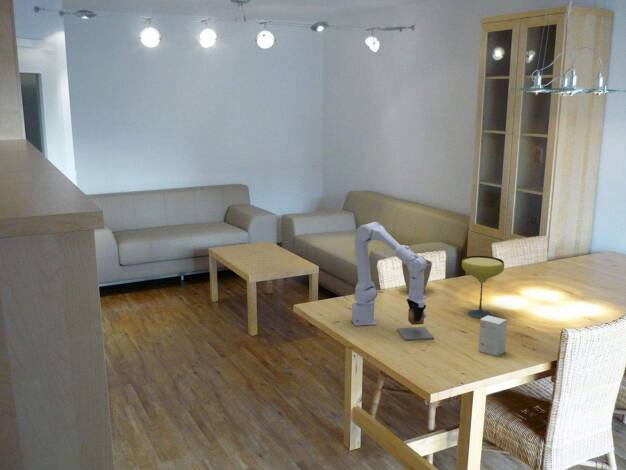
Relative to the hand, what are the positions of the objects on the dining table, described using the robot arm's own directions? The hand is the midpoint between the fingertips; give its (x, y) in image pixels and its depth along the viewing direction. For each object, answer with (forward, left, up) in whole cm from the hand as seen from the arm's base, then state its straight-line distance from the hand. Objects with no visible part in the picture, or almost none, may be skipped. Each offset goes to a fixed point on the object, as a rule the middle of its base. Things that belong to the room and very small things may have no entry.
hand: (415, 318), depth 255 cm
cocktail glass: (+36, +19, -7) cm, 41 cm away
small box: (+24, -21, -7) cm, 33 cm away
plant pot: (+17, +54, -7) cm, 57 cm away
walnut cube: (0, 0, -2) cm, 2 cm away
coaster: (0, 0, -7) cm, 7 cm away
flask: (+8, +22, -7) cm, 25 cm away
